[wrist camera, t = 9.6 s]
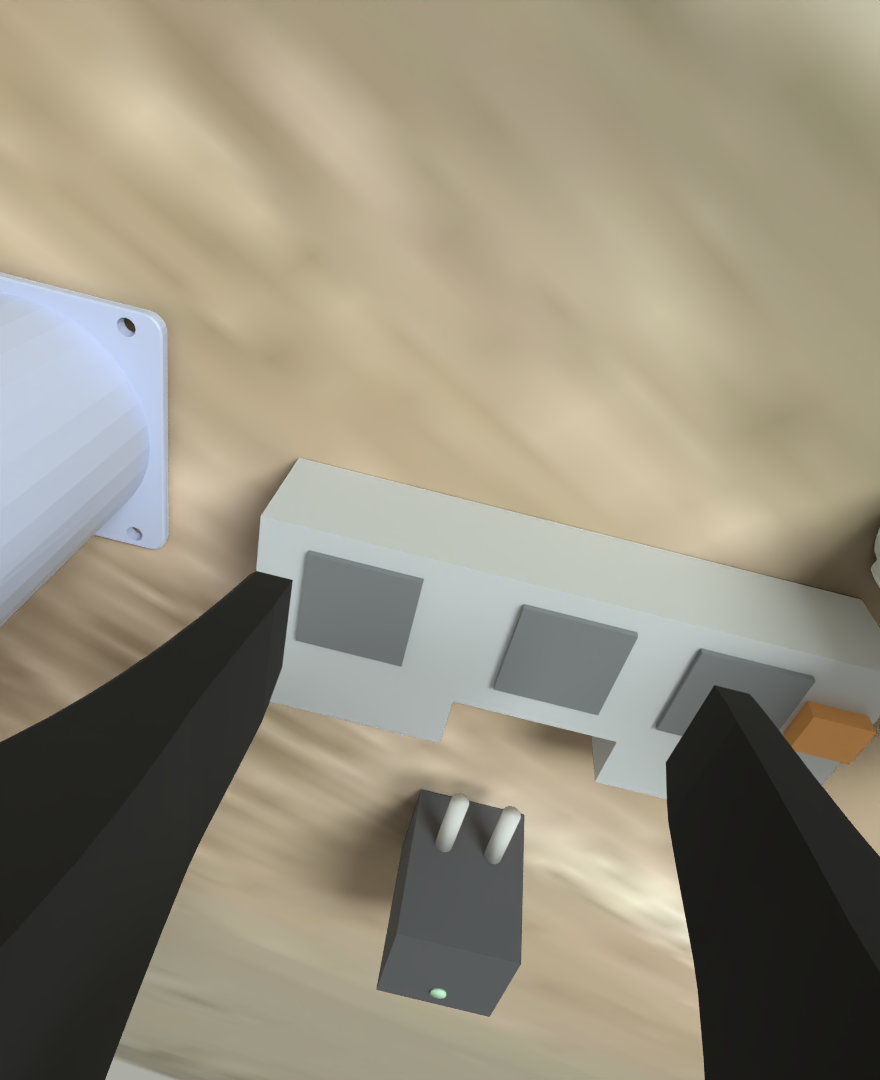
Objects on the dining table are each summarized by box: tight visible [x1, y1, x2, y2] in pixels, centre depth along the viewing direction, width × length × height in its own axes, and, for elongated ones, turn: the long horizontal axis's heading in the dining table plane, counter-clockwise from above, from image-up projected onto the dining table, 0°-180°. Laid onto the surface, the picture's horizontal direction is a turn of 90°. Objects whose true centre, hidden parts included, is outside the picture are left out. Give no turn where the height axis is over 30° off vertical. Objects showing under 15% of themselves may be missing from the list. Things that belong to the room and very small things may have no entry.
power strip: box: [256, 458, 880, 799], centre depth 22 cm, size 18×7×4 cm, turn 77°
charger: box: [376, 790, 524, 1017], centre depth 27 cm, size 4×7×6 cm, turn 167°
